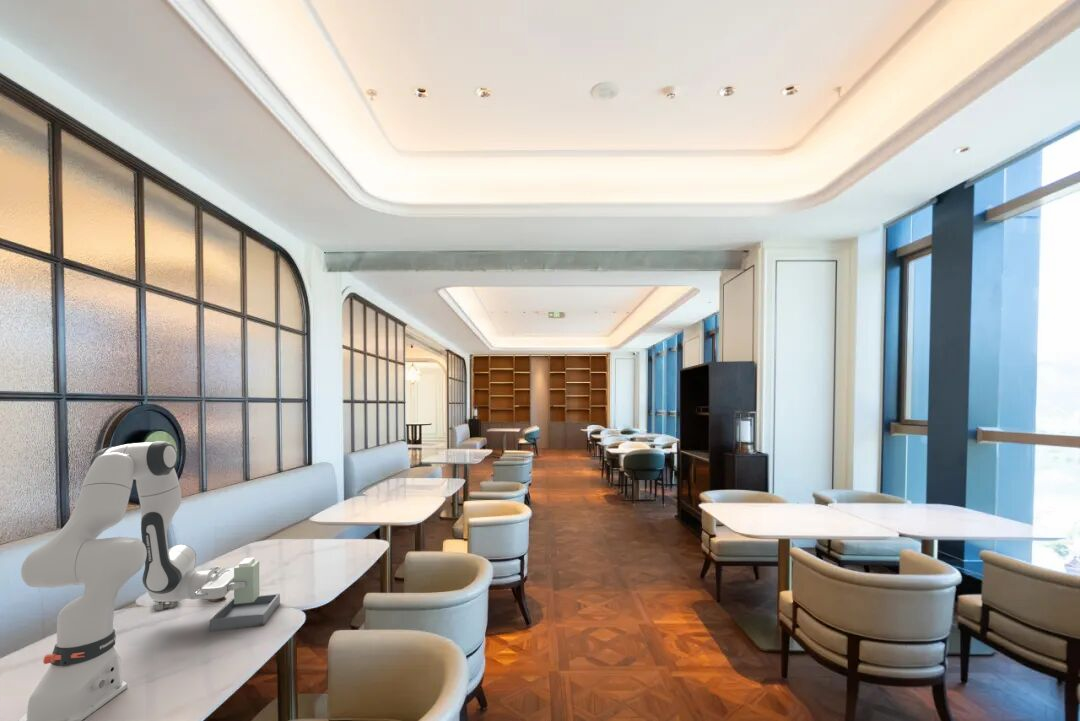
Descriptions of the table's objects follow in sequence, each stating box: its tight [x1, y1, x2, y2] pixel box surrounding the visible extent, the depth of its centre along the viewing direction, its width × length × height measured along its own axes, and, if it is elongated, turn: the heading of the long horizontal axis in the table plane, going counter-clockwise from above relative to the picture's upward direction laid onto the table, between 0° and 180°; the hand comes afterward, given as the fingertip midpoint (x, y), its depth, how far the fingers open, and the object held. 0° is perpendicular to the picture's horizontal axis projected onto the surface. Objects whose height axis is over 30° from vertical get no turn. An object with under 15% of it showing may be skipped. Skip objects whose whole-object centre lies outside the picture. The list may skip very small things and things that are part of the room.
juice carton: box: [233, 556, 260, 604], centre depth 178 cm, size 6×6×13 cm
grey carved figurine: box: [152, 600, 179, 611], centre depth 190 cm, size 11×8×4 cm
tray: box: [209, 593, 281, 632], centre depth 177 cm, size 18×16×4 cm
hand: (249, 580), depth 178 cm, fingers closed on juice carton, 6 cm apart
